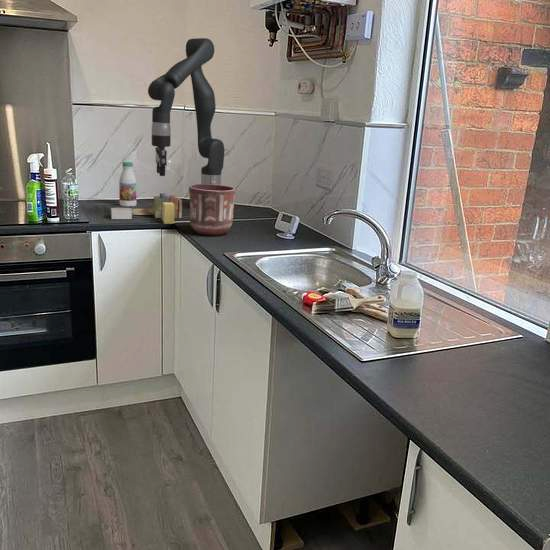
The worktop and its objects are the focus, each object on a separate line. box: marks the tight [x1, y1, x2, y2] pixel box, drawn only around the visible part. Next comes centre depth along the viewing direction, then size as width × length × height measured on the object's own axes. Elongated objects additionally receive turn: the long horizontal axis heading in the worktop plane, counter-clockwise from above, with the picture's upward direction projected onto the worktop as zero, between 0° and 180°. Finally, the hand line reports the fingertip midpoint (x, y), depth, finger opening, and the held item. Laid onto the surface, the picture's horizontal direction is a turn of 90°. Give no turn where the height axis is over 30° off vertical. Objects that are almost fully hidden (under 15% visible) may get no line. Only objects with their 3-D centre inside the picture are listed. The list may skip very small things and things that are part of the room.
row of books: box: [109, 192, 183, 219], centre depth 243 cm, size 30×8×10 cm, turn 110°
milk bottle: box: [118, 161, 137, 208], centre depth 264 cm, size 8×8×20 cm
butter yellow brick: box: [161, 202, 175, 225], centre depth 236 cm, size 4×5×8 cm
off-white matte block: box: [110, 207, 133, 220], centre depth 239 cm, size 8×6×4 cm
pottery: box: [188, 183, 237, 237], centre depth 222 cm, size 18×18×18 cm
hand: (160, 174), depth 234 cm, fingers open, 8 cm apart
